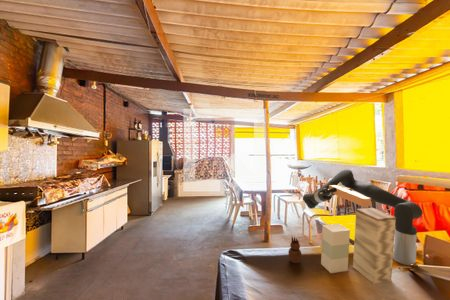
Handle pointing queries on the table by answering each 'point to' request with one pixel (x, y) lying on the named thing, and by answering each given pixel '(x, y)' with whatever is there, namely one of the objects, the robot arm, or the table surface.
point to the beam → (351, 196)
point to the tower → (335, 248)
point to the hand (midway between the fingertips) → (339, 188)
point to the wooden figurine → (294, 251)
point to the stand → (374, 244)
